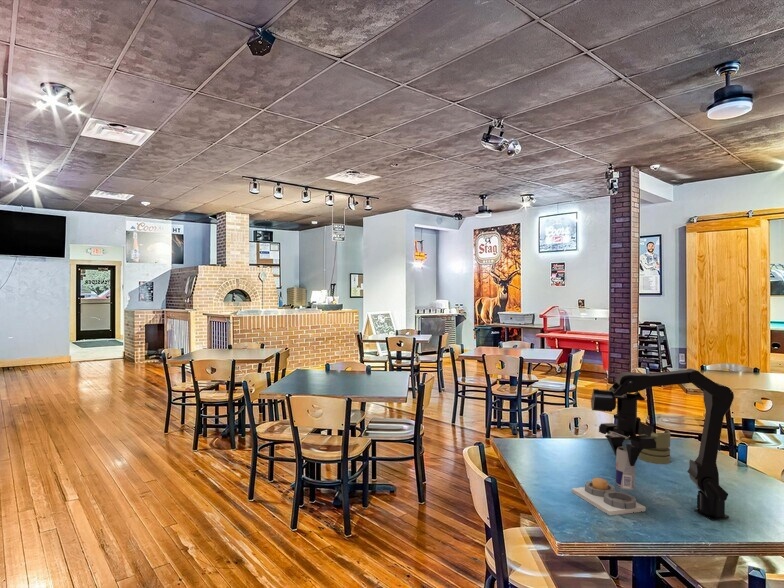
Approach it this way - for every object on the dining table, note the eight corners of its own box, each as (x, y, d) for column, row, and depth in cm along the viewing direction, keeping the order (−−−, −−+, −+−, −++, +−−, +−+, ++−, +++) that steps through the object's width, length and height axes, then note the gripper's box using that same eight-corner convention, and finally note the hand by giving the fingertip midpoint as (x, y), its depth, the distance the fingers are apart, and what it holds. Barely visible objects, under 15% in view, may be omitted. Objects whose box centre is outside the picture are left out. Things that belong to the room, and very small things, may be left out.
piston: (665, 435, 186) (634, 429, 194) (665, 466, 186) (634, 459, 193) (673, 430, 194) (643, 425, 202) (673, 459, 194) (643, 453, 202)
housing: (645, 511, 145) (645, 495, 145) (609, 515, 141) (609, 499, 142) (604, 488, 162) (604, 474, 162) (571, 492, 159) (571, 477, 159)
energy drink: (618, 482, 152) (619, 445, 153) (636, 487, 149) (637, 449, 149) (613, 487, 148) (614, 448, 149) (632, 492, 145) (633, 452, 145)
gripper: (672, 419, 142) (670, 471, 142) (626, 405, 160) (625, 451, 160) (641, 421, 139) (639, 474, 139) (598, 406, 157) (597, 453, 157)
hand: (625, 462), depth 149 cm, fingers closed on energy drink, 5 cm apart
